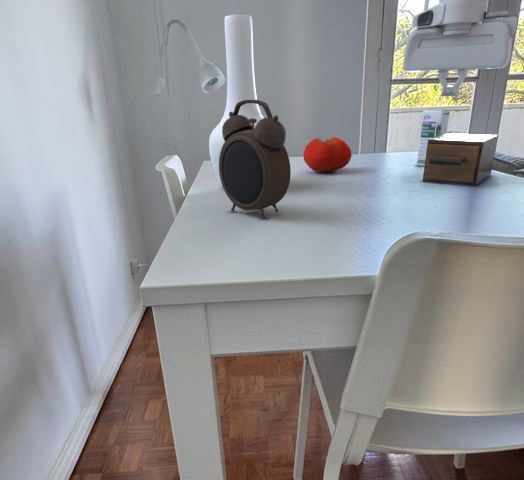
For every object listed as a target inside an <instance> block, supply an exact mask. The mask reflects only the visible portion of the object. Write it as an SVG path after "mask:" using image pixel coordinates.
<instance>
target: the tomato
mask: <svg viewBox="0 0 524 480" xmlns="http://www.w3.org/2000/svg"><path fill="white" fill-rule="evenodd" d="M302 156H303V160H304V163H305V165H307V167H308V168H309V169H311V170H312V171H315V172H320V173H327V172H329V171H330V172H332V171H333V172H336V171H338V170H342V169H343V168H345V167H346V166H347V165H349V163H350V162H351V159H352V156H353V154H352V150H351V147H350V146H349V144H348V143H347V142H346V141H345V140H344V139H343V138H341V137H336V136H333V137H330V138H329V139H325V140H324V139H322V138H320V137H317V138H313V139H311V140H310V142H308V144H307V145H306V146H305V148H304V150H303V155H302Z"/></svg>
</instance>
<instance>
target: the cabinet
mask: <svg viewBox="0 0 524 480" xmlns="http://www.w3.org/2000/svg"><path fill="white" fill-rule="evenodd" d="M498 140H499V134H477V133H476V134H473V133H472V134H471V133H470V134H469V133H446V134H444V135H441V136H438V137H435V138H432V139H428V144H462V145H479V146H480V149H479V155H478V160H477V165H476V171H475V176H474V182H472V183H471V182H459V181H446V180H434V179H424V173H425V166H426V159H425V166H423V167H424V168H423V174H422V182H423V183H437V184H446V185H447V184H449V185H459V186H460V185H461V186H471V187H472V186H474V187H476V186H477V185H479V184H480V183H482V182H483V181H485V180H486V179H488V178H489V177H491V173H492V169H493V164H494V159H495V154H496V150H497V145H498ZM428 144H427V151H428ZM427 151H426V158H427Z"/></svg>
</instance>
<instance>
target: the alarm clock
mask: <svg viewBox="0 0 524 480" xmlns="http://www.w3.org/2000/svg"><path fill="white" fill-rule="evenodd" d="M246 103H255V104H258V106H261V107H262V108H263V110H264V112H265V115H266V117H263V118H264V119H261V120H260V121H259V122H258V123H257V125H256V126H255V128H254V123H256V119H251V118H250V119H249V120H248V118H247V117H245V116H243V115H238V112H239V110H240V107H241V106H242V105H244V104H246ZM229 116H230V118H229V119H227V120H226V121H225V123H224V124H223V127H222V134H223V138H224V141H225V142H224V144H223V146H222V149H221V152H220V157H219V174H220V179H221V183H222V186H223V187H222V186H221V187H222V188H223V191H224V192H225V194H226V196H227V198H228V199H229V201H230V202H231V203H232V207H231V209H230V210H231V212H235V210H236V207H237V208H239V209H241V210H244V211H259V213H260V214H261V216H262V219H264V220H265V219H266V218H267V215H265V211H264V209H266V208H269V207H271V206H272V208H273V209H274V211H275V213H278V212H279V209H278V207H277V205H276V204H278V203H279V202H281V201H282V200H283V198H284V197H285V196H286V193H287V192H288V189H289V187H290V183H291V176H292V175H291V172H292V171H291V161H290V157H289V154H288V151H287V149H286V147H285V143H286V138H287V130H286V128H285V126H284V124H283V123H282V122H281V121H279V116H278V115H276V114H275V115H273V114H272V110H271V109H270V107H269V105H268V104H267V103H266V102H265V101H263V100H260V99H257V100H243V101H241V102H238V103H237V104H236V106H235V109H234V112H233V113H232V112H229ZM251 123H252V124H251Z"/></svg>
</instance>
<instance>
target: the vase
mask: <svg viewBox="0 0 524 480" xmlns="http://www.w3.org/2000/svg"><path fill="white" fill-rule="evenodd" d="M223 25H224V41H225V59H226V103H225V109H224V113H223V116H222V118H221V120H220V122H219V123H218V124H217V125H216V126H215V127H214V128H213V129H212V131H211V132H210V135H209V139H208V151H209V156H210V157H209V158H210V161H211V165H212V169H213V171H214V174H215V177H216V179H217V181H218V182H219V184H220V186H221V187H222V188H223V186H222V183H221V179H220V174H219V157H220V152H221V149H222V146H223V144H224V142H225V141H224V138H223V134H222V127H223V124H224V123H225V121H226V120H227V119H229V118H230V116H229V112H232V113H233V112H234V109H235V106H236V104H237V103H238V102H241V101H243V100H258V96H257V91H256V90H257V89H256V80H255V66H254V65H255V63H254V43H253V42H254V37H253V35H254V33H253V19H252V15H250V14H230V15H225V16H224V24H223ZM238 115H243V116H245V117H247V118H248V120H249V119H250V118H251V119H256V123H254V128H255V126H256V125H257V123H258V122H259V121H260V120H261V119H264V118H265V117H264V116H263V115H262V112H261V109H260V105H258V104H255V103H246V104H244V105H242V106H241V107H240V110H239V112H238ZM251 124H252V123H251Z"/></svg>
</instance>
